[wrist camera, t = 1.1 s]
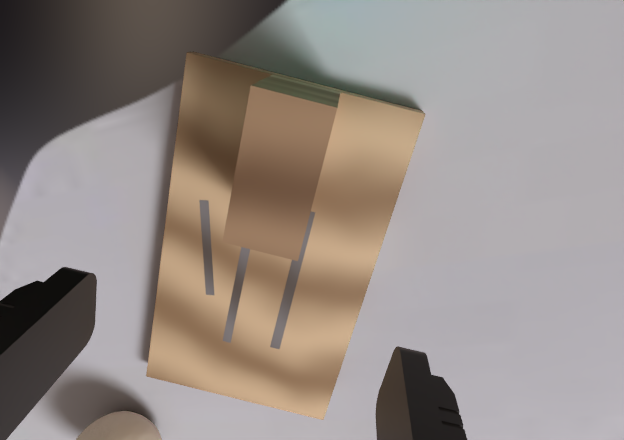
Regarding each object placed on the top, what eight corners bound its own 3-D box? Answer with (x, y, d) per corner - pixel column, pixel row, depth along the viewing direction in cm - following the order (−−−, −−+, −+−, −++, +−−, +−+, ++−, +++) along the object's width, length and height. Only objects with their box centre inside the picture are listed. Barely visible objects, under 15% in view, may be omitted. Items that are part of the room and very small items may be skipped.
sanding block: (272, 74, 26) (250, 85, 21) (340, 92, 26) (337, 107, 21) (247, 202, 29) (222, 242, 24) (308, 218, 29) (297, 261, 24)
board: (193, 51, 27) (186, 52, 26) (422, 111, 27) (425, 114, 26) (152, 365, 36) (146, 376, 35) (324, 408, 37) (323, 420, 35)
